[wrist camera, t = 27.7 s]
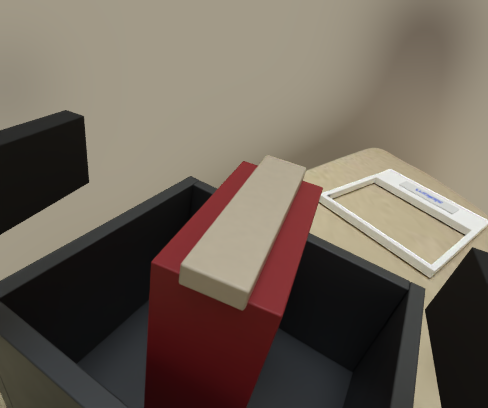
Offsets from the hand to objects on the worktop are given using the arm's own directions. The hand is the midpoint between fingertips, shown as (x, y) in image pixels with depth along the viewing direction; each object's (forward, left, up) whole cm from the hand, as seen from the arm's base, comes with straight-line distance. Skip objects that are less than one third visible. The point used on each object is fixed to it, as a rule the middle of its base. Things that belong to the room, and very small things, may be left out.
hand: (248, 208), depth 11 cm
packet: (0, +1, -13) cm, 13 cm away
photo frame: (+8, +33, -14) cm, 37 cm away
